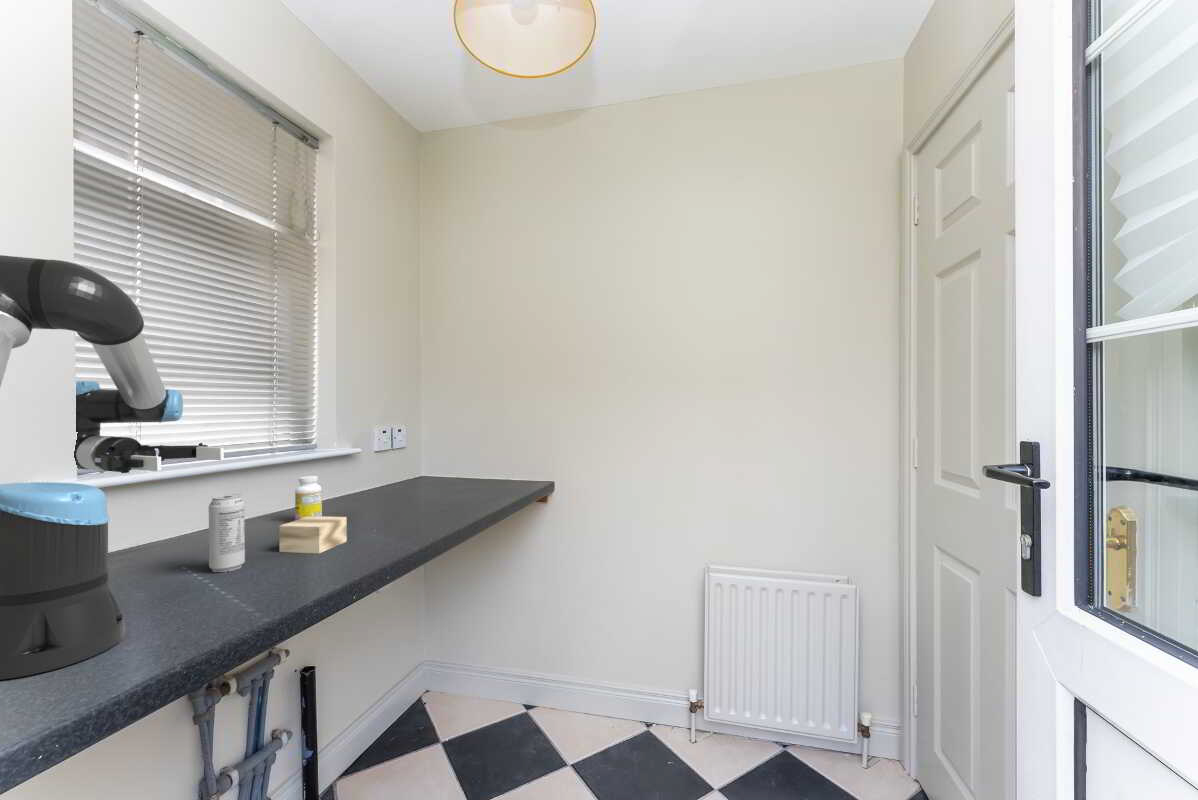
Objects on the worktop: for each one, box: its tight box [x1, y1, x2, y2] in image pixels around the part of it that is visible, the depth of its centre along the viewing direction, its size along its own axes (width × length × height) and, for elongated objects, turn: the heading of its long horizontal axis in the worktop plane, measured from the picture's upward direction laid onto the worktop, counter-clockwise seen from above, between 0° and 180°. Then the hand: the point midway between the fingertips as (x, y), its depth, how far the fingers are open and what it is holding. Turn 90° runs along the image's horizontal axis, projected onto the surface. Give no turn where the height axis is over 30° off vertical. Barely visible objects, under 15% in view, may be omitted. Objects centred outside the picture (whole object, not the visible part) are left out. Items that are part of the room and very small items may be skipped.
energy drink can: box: [208, 493, 246, 573], centre depth 108 cm, size 6×6×15 cm
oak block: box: [278, 515, 348, 554], centre depth 123 cm, size 10×10×6 cm
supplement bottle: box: [294, 475, 323, 521], centre depth 149 cm, size 7×7×13 cm
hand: (192, 458), depth 109 cm, fingers open, 13 cm apart
